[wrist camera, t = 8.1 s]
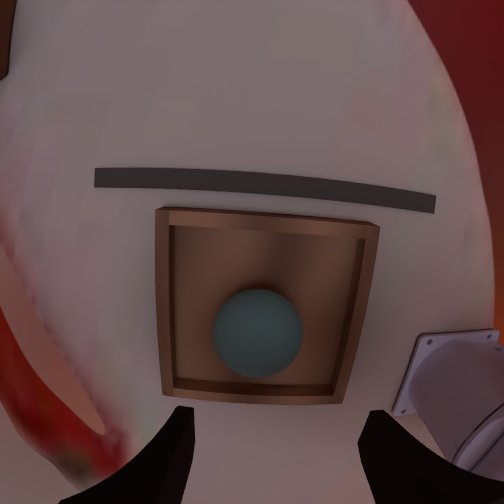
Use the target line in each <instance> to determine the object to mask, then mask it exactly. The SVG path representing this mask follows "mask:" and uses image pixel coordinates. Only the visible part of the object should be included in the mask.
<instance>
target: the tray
mask: <svg viewBox="0 0 504 504" xmlns="http://www.w3.org/2000/svg"><path fill="white" fill-rule="evenodd" d="M379 232H380V226H377V225H375V224H373V223H370V222H365V221H355V220H345V219H335V218H324V217H313V216H302V215H290V214H278V213H265V212H251V211H236V210H221V209H204V208H185V207H161V208H159V209H156V211H155V286H156V314H157V332H158V348H159V361H160V372H161V383H162V393H163V395H165V396H173V397H180V398H189V399H198V400H208V401H219V402H232V403H249V404H277V405H313V404H342V401H343V398H344V395H345V391H346V388H347V384H348V381H349V377H350V374H351V370H352V366H353V363H354V359H355V355H356V351H357V347H358V343H359V339H360V334H361V330H362V326H363V321H364V317H365V312H366V307H367V302H368V297H369V292H370V287H371V282H372V276H373V270H374V265H375V259H376V252H377V246H378V239H379ZM250 289H266V290H270V291H273V292H276V293H278V294H280V295H282V296H283V297H285V298H286V299H287V300H288V301H289V302H290V303H291V304H292V305H293V306H294V307H295V309H296V310H297V312H298V314H299V316H300V319H301V322H302V327H303V340H302V345H301V348H300V350H299V353H298V355H297V356H296V358H295V359H294V361H293V362H292V363H291V364H290V365H289V366H288V367H287V368H285V369H284V370H283V371H281V372H279V373H277V374H275V375H272V376H269V377H264V378H251V377H246V376H243V375H240V374H238V373H236V372H234V371H233V370H231V369H230V368H228V367H227V366H226V365H225V364H224V363H223V362H222V360H221V359H220V357H219V356H218V354H217V352H216V350H215V347H214V343H213V337H212V330H213V324H214V320H215V317H216V315H217V313H218V311H219V309H220V308H221V307H222V305H223V304H224V303H225V302H226V301H227V300H228V299H230V298H231V297H232V296H234V295H235V294H237V293H239V292H242V291H245V290H250Z"/></svg>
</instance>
